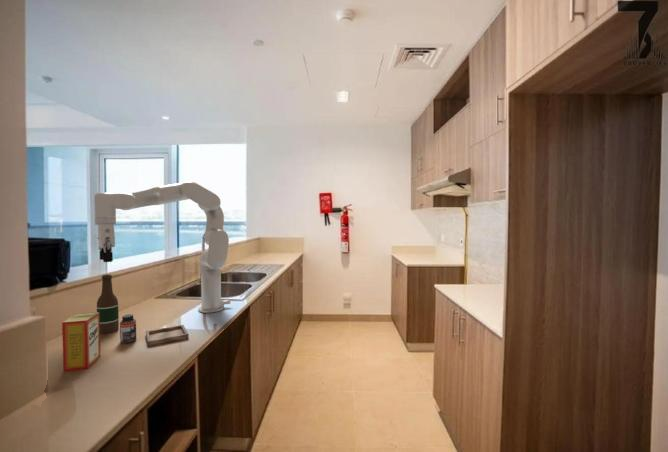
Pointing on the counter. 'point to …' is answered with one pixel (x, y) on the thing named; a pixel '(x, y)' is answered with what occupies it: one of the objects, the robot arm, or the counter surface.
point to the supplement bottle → (127, 329)
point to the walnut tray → (166, 335)
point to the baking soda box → (81, 341)
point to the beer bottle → (108, 307)
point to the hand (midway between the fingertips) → (106, 260)
